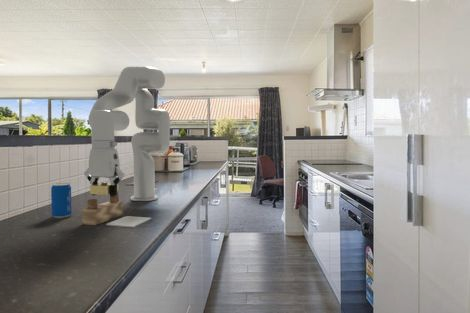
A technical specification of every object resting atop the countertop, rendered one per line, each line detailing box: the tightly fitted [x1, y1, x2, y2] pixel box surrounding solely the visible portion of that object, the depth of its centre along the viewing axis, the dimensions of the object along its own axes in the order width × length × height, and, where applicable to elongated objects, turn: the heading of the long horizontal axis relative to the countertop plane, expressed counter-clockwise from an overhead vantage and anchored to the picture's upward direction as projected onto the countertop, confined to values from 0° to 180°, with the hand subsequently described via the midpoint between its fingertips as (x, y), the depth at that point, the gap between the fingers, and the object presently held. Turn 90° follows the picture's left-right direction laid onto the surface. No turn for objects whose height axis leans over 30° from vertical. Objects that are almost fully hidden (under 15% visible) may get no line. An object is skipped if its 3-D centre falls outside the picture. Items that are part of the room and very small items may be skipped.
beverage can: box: [50, 182, 73, 219], centre depth 122 cm, size 6×6×12 cm
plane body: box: [81, 191, 124, 226], centre depth 119 cm, size 16×5×9 cm, turn 166°
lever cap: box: [89, 181, 119, 196], centre depth 119 cm, size 7×6×4 cm
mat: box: [106, 215, 152, 228], centre depth 116 cm, size 12×10×1 cm
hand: (104, 194), depth 120 cm, fingers closed on lever cap, 6 cm apart
